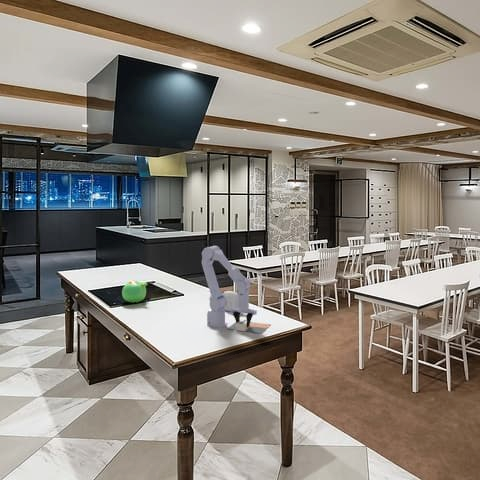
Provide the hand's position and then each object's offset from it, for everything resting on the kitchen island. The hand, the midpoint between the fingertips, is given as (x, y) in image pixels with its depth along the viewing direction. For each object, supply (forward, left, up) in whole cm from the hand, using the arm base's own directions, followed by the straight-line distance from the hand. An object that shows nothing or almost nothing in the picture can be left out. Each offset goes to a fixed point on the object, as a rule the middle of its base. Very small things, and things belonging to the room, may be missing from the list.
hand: (243, 326), depth 215 cm
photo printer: (-20, +31, -2) cm, 37 cm away
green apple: (-88, +26, -2) cm, 92 cm away
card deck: (0, 0, -1) cm, 1 cm away
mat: (+2, +4, -2) cm, 5 cm away
